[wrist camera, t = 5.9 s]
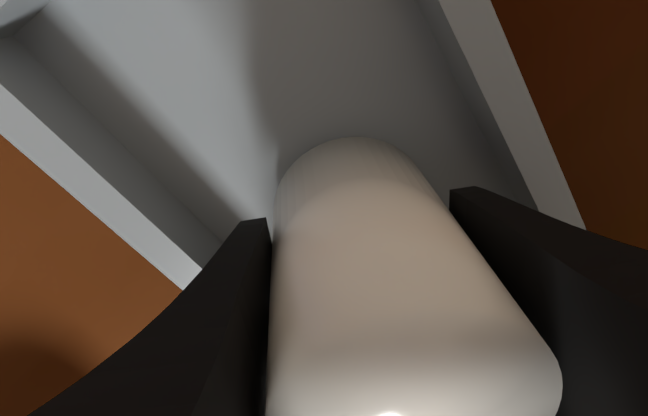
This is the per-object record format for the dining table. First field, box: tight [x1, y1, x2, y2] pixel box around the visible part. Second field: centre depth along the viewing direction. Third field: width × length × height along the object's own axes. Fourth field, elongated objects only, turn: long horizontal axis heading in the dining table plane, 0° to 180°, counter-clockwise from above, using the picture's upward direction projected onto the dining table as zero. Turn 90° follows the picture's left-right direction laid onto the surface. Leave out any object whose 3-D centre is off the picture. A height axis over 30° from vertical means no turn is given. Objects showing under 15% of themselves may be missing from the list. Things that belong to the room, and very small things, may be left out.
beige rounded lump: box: [265, 137, 563, 416], centre depth 9 cm, size 4×4×6 cm
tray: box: [0, 0, 586, 290], centre depth 11 cm, size 14×10×2 cm
